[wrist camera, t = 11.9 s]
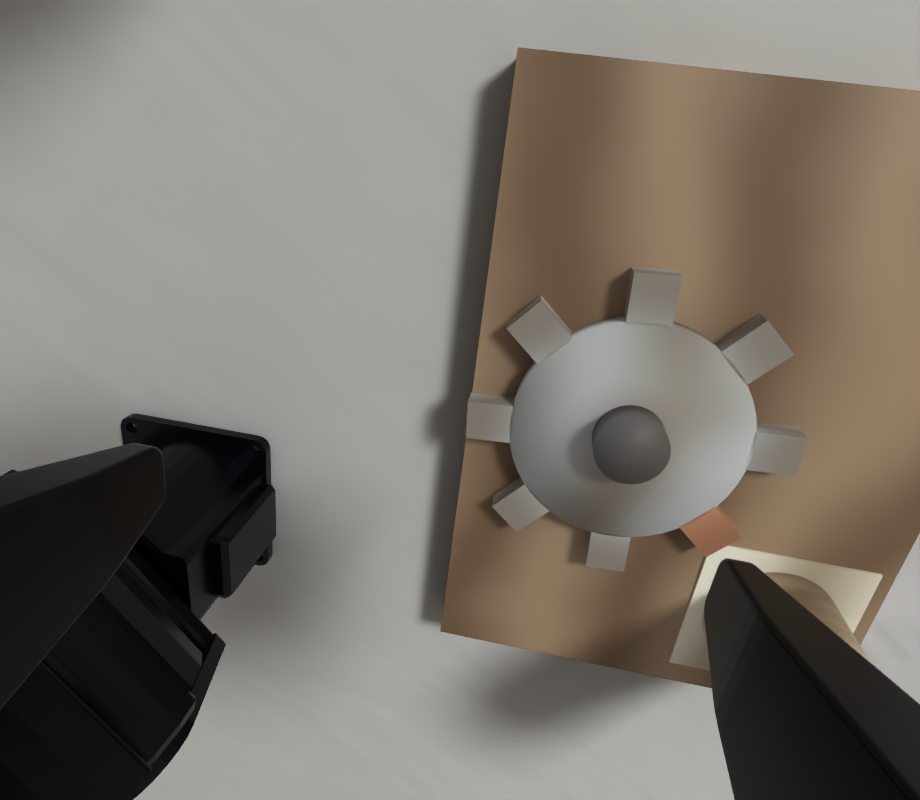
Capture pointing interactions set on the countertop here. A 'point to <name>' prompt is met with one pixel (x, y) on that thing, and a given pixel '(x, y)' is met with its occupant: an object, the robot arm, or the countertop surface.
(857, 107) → the sprocket board
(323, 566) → the countertop surface
